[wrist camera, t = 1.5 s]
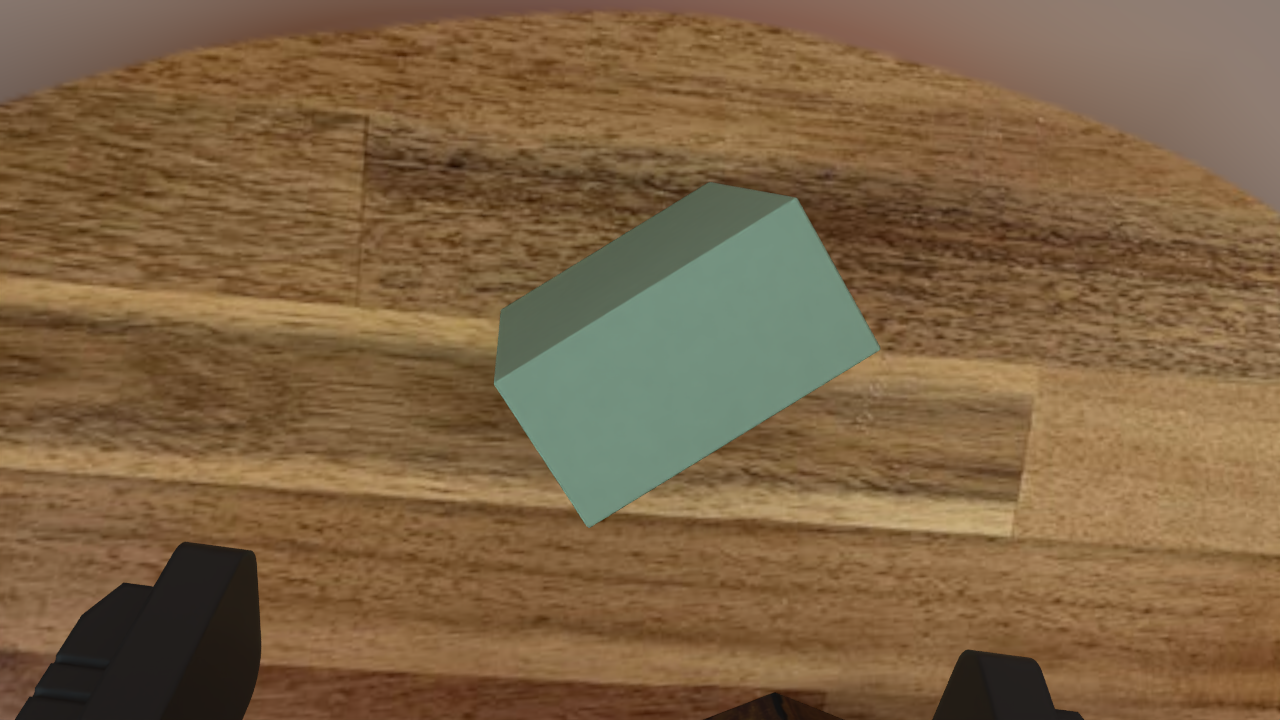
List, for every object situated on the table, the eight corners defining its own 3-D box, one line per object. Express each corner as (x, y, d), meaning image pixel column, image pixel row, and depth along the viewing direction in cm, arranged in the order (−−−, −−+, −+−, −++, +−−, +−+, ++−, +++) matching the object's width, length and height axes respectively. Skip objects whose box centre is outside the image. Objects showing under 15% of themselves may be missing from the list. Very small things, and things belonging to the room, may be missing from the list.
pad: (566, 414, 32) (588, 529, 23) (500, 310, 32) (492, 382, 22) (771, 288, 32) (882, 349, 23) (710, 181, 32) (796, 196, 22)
